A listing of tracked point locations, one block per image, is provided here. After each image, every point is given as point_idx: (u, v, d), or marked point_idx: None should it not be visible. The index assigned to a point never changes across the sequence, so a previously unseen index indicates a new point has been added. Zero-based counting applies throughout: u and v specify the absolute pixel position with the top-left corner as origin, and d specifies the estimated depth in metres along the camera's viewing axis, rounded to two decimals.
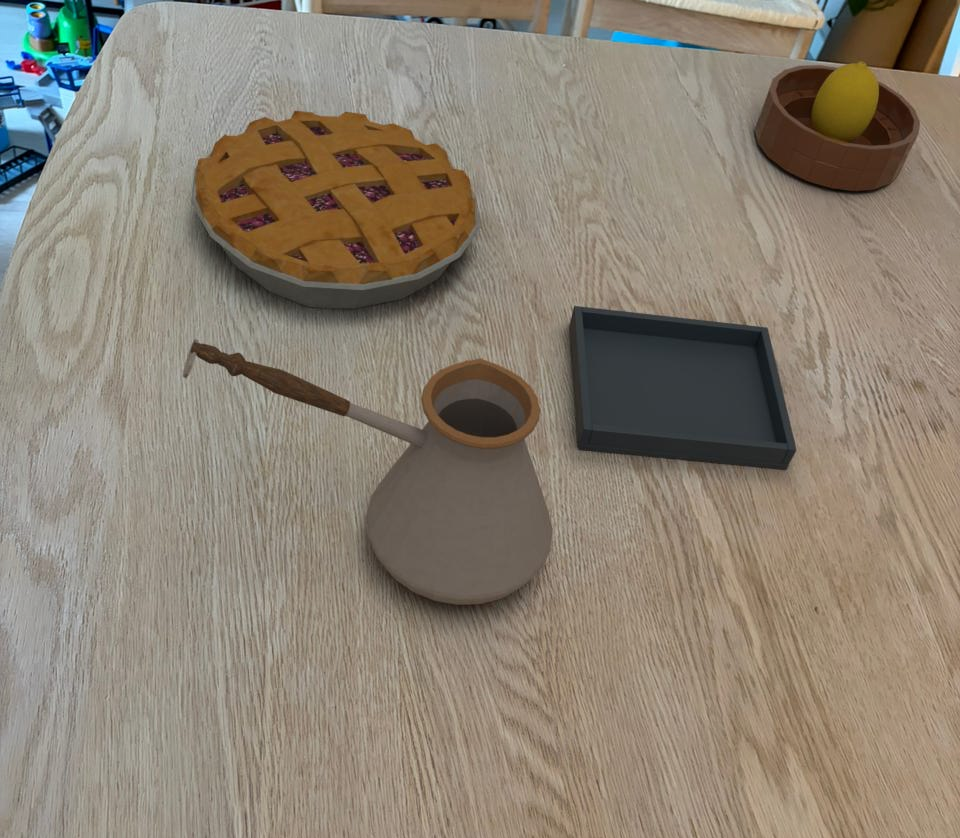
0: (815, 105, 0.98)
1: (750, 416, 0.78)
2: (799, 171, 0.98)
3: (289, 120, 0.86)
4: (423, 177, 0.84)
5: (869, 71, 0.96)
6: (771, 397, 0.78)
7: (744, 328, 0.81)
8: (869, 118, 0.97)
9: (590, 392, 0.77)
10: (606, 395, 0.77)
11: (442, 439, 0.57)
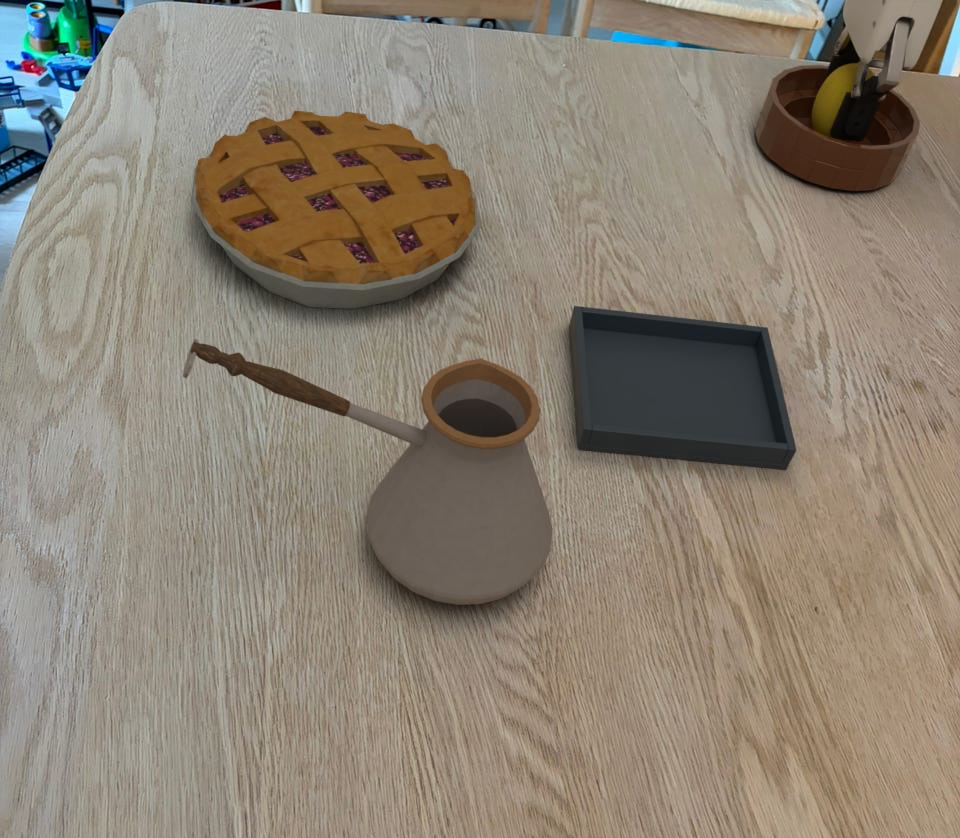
0: (815, 105, 0.98)
1: (750, 416, 0.78)
2: (799, 171, 0.98)
3: (289, 120, 0.86)
4: (423, 177, 0.84)
5: (869, 71, 0.96)
6: (771, 397, 0.78)
7: (744, 328, 0.81)
8: None
9: (590, 392, 0.77)
10: (606, 395, 0.77)
11: (442, 439, 0.57)
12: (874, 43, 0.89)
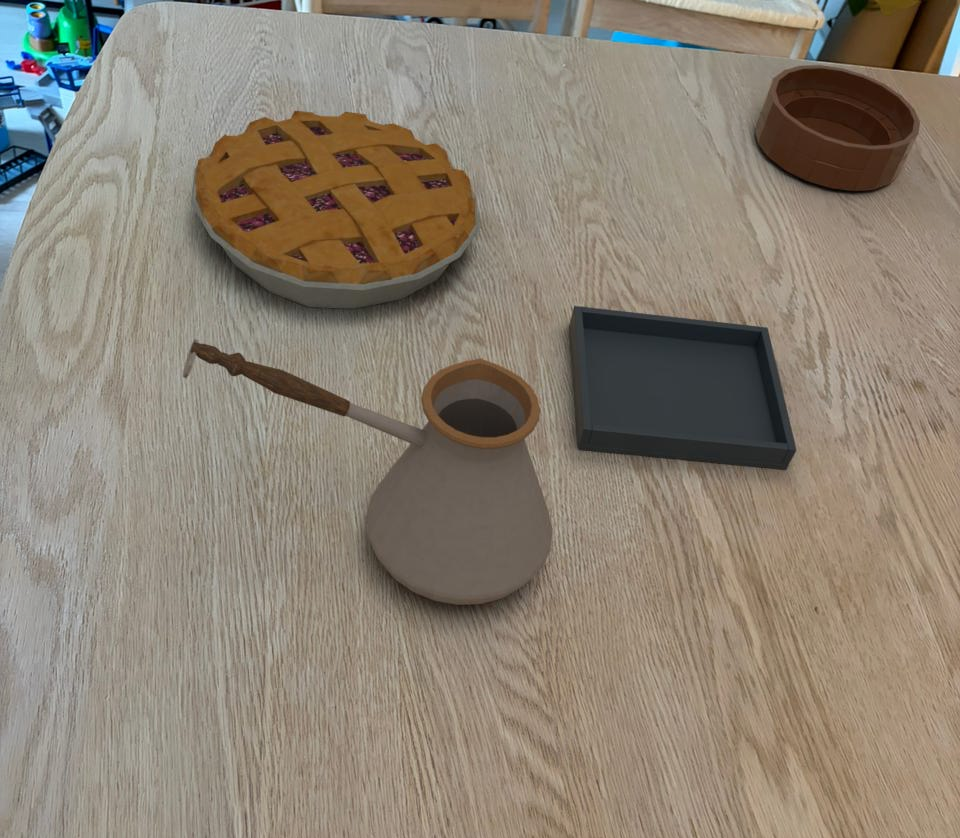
0: None
1: (750, 416, 0.78)
2: (799, 171, 0.98)
3: (289, 120, 0.86)
4: (423, 177, 0.84)
5: None
6: (771, 397, 0.78)
7: (744, 328, 0.81)
8: None
9: (590, 392, 0.77)
10: (606, 395, 0.77)
11: (442, 439, 0.57)
12: None
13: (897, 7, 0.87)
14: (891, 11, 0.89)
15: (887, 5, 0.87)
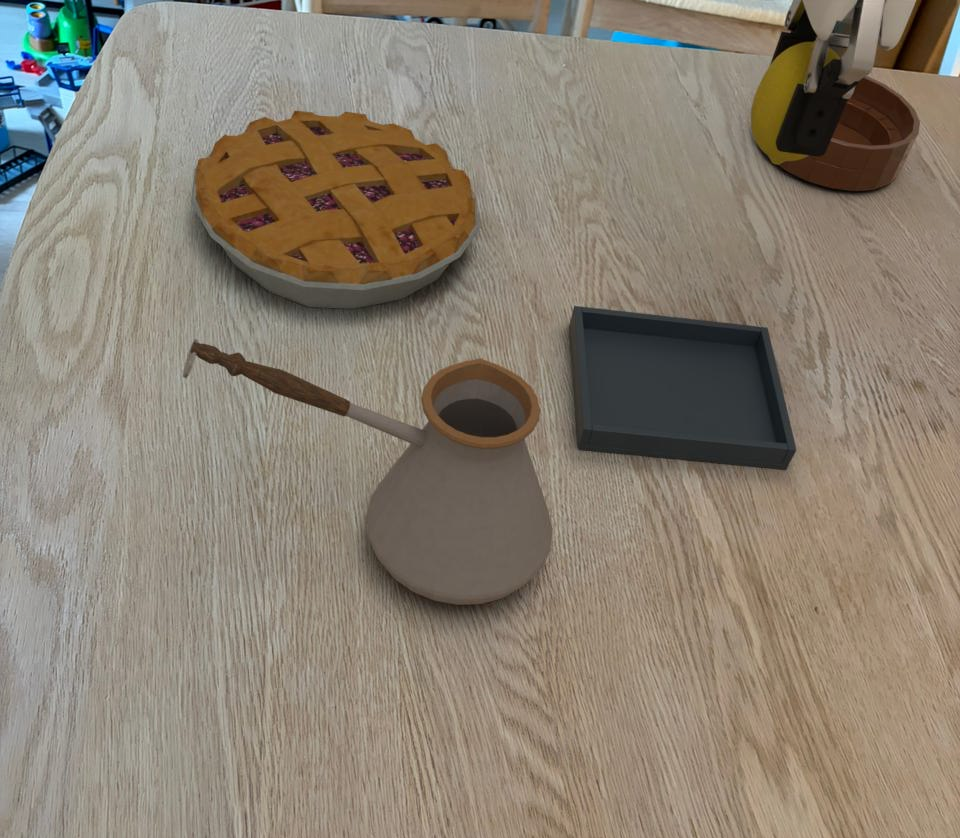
0: (755, 103, 0.68)
1: (750, 416, 0.78)
2: (799, 171, 0.98)
3: (289, 120, 0.86)
4: (423, 177, 0.84)
5: (831, 53, 0.65)
6: (771, 397, 0.78)
7: (744, 328, 0.81)
8: None
9: (590, 392, 0.77)
10: (606, 395, 0.77)
11: (442, 439, 0.57)
12: (835, 9, 0.59)
13: (787, 159, 0.69)
14: (782, 161, 0.70)
15: (775, 156, 0.69)
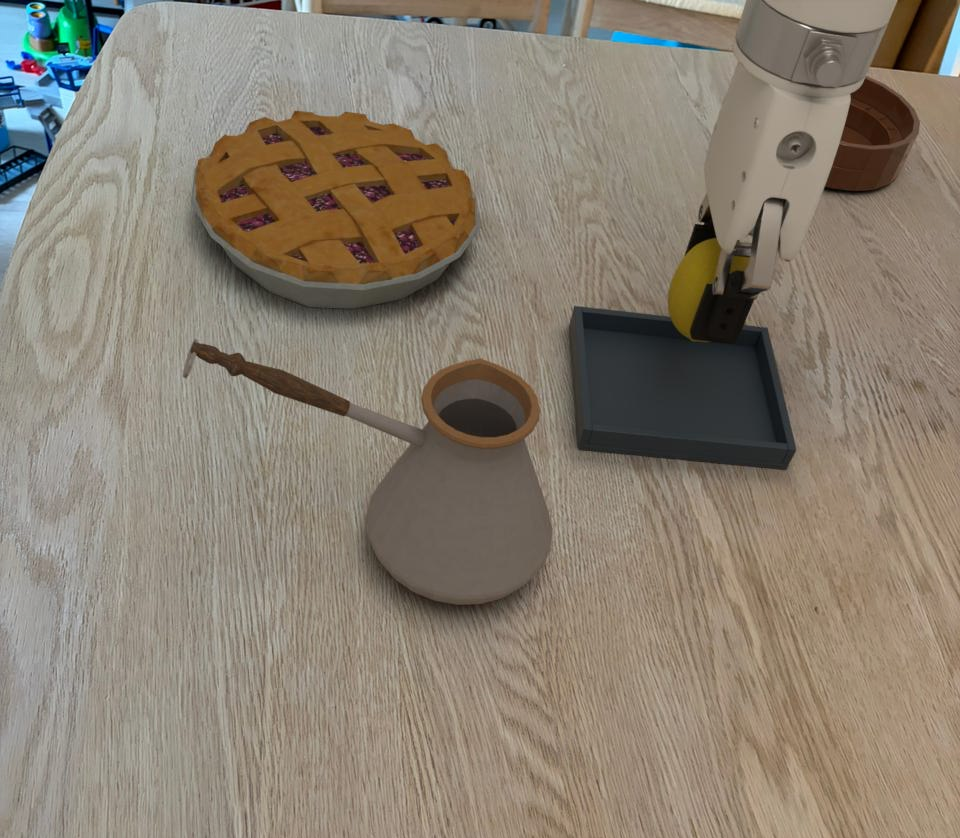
0: (670, 291, 0.71)
1: (750, 416, 0.78)
2: None
3: (289, 120, 0.86)
4: (423, 177, 0.84)
5: None
6: (771, 397, 0.78)
7: (744, 328, 0.81)
8: None
9: (590, 392, 0.77)
10: (606, 395, 0.77)
11: (442, 439, 0.57)
12: (735, 230, 0.62)
13: (703, 341, 0.72)
14: None
15: (691, 338, 0.72)
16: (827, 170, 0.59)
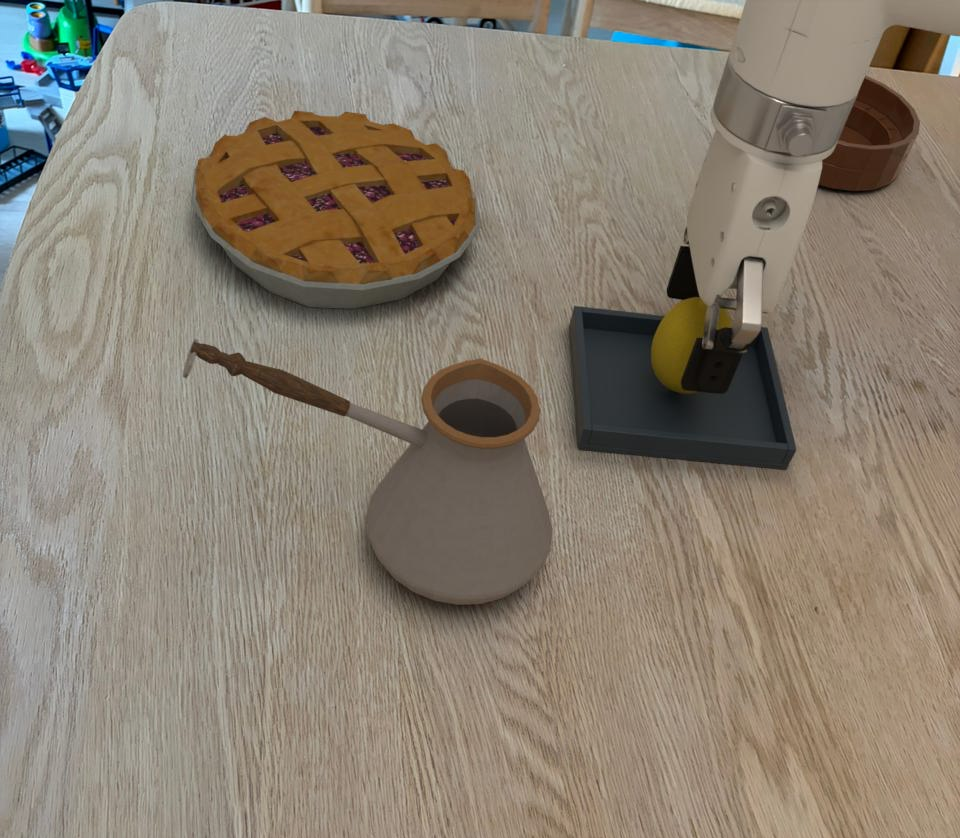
0: (653, 346, 0.75)
1: (750, 416, 0.78)
2: None
3: (289, 120, 0.86)
4: (423, 177, 0.84)
5: None
6: (771, 397, 0.78)
7: None
8: None
9: (590, 392, 0.77)
10: (606, 395, 0.77)
11: (442, 439, 0.57)
12: (714, 286, 0.65)
13: (684, 393, 0.76)
14: None
15: (673, 390, 0.76)
16: (801, 231, 0.62)
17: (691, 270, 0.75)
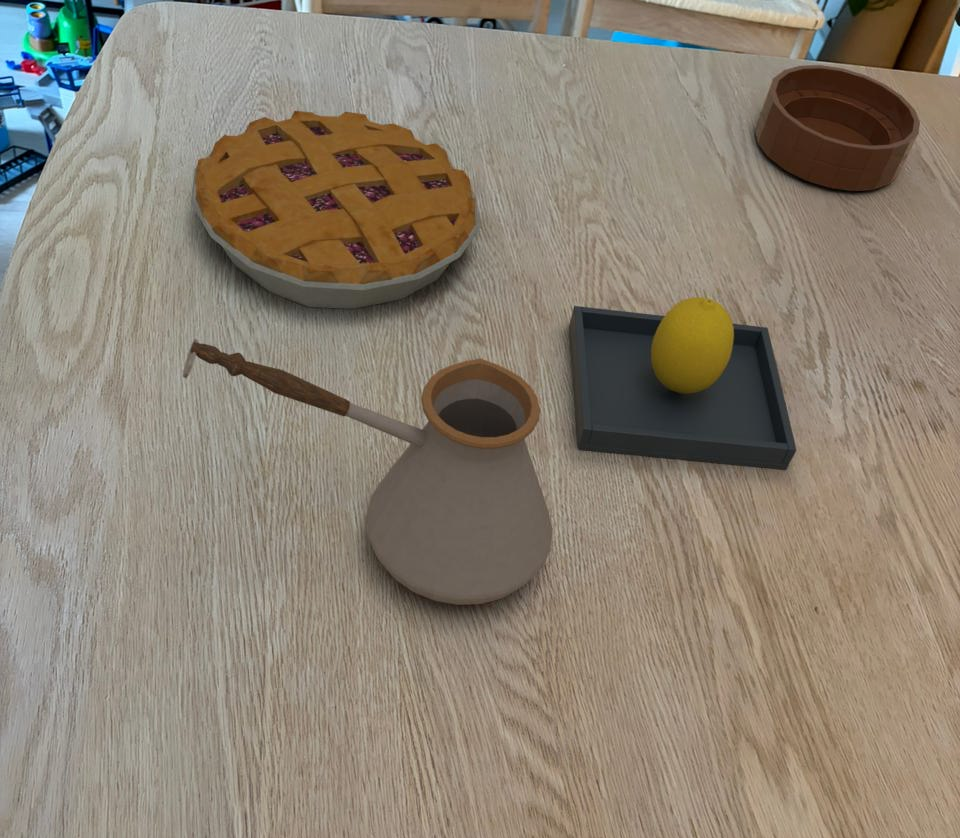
0: (653, 346, 0.75)
1: (750, 416, 0.78)
2: (799, 171, 0.98)
3: (289, 120, 0.86)
4: (423, 177, 0.84)
5: (718, 311, 0.72)
6: (771, 397, 0.78)
7: (744, 328, 0.81)
8: (722, 366, 0.74)
9: (590, 392, 0.77)
10: (606, 395, 0.77)
11: (442, 439, 0.57)
12: None
13: (684, 393, 0.76)
14: None
15: (673, 390, 0.76)
16: None
17: None
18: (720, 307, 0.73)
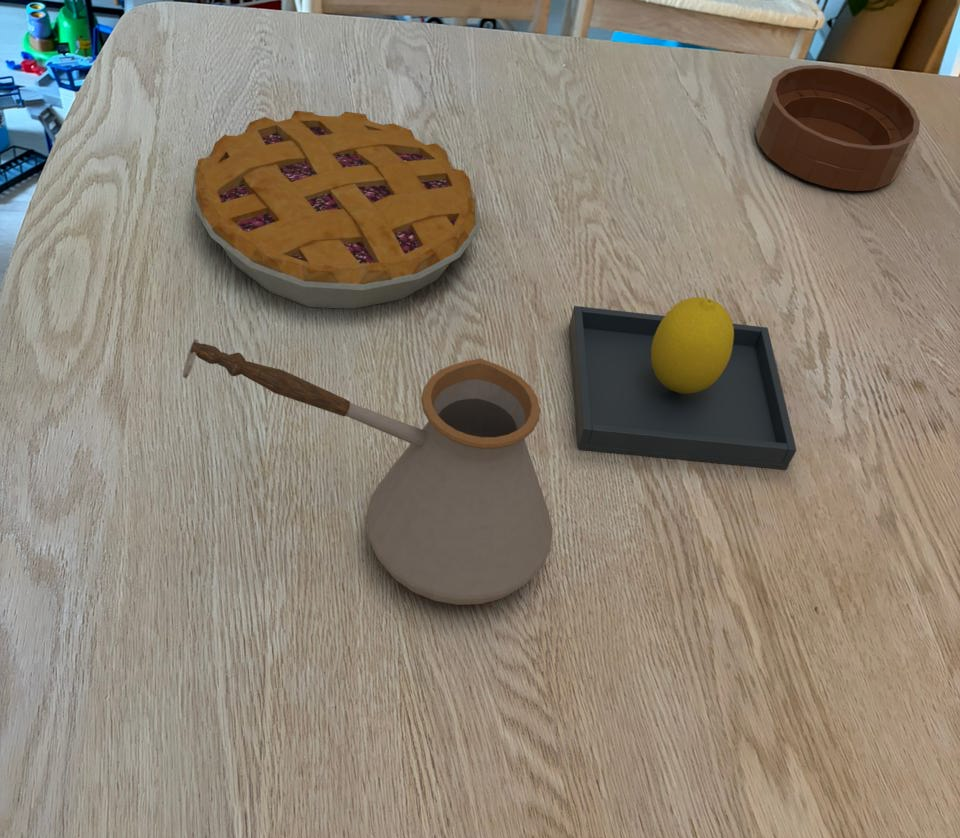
0: (653, 346, 0.75)
1: (750, 416, 0.78)
2: (799, 171, 0.98)
3: (289, 120, 0.86)
4: (423, 177, 0.84)
5: (718, 311, 0.72)
6: (771, 397, 0.78)
7: (744, 328, 0.81)
8: (722, 366, 0.74)
9: (590, 392, 0.77)
10: (606, 395, 0.77)
11: (442, 439, 0.57)
12: None
13: (684, 393, 0.76)
14: None
15: (673, 390, 0.76)
16: None
17: None
18: (720, 307, 0.73)
